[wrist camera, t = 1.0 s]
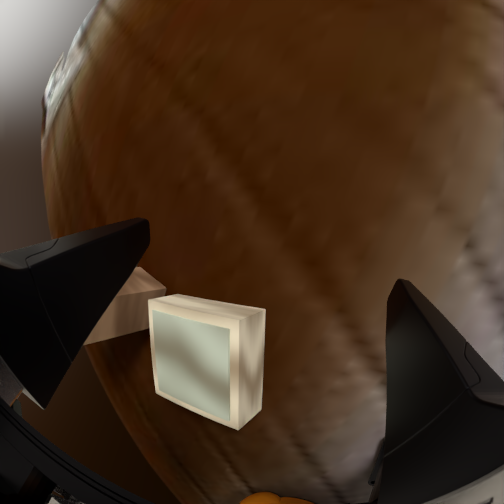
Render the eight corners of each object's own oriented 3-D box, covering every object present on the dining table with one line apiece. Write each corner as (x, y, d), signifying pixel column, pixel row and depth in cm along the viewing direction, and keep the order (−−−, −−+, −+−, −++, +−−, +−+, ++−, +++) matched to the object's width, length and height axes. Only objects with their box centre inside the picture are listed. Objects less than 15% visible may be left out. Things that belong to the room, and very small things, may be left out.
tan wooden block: (166, 288, 29) (50, 305, 18) (156, 326, 30) (51, 352, 19) (140, 267, 31) (34, 275, 20) (132, 303, 32) (34, 319, 21)
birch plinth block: (261, 409, 24) (237, 431, 20) (181, 380, 29) (154, 393, 25) (265, 309, 23) (237, 320, 20) (177, 294, 28) (146, 299, 25)
